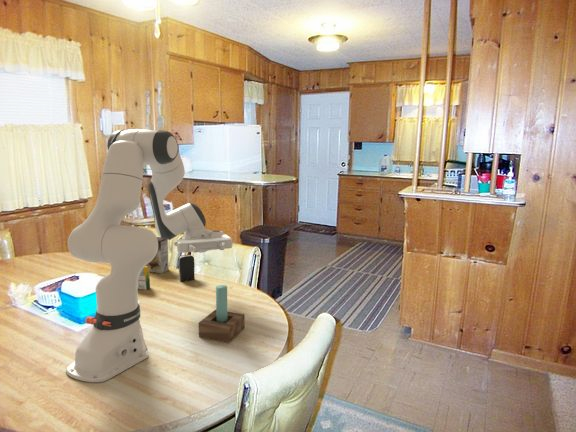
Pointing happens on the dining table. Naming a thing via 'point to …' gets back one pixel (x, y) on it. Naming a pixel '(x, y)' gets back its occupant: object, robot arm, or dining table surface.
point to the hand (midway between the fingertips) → (209, 249)
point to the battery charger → (186, 267)
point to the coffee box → (160, 257)
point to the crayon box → (144, 279)
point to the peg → (221, 304)
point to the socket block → (221, 327)
